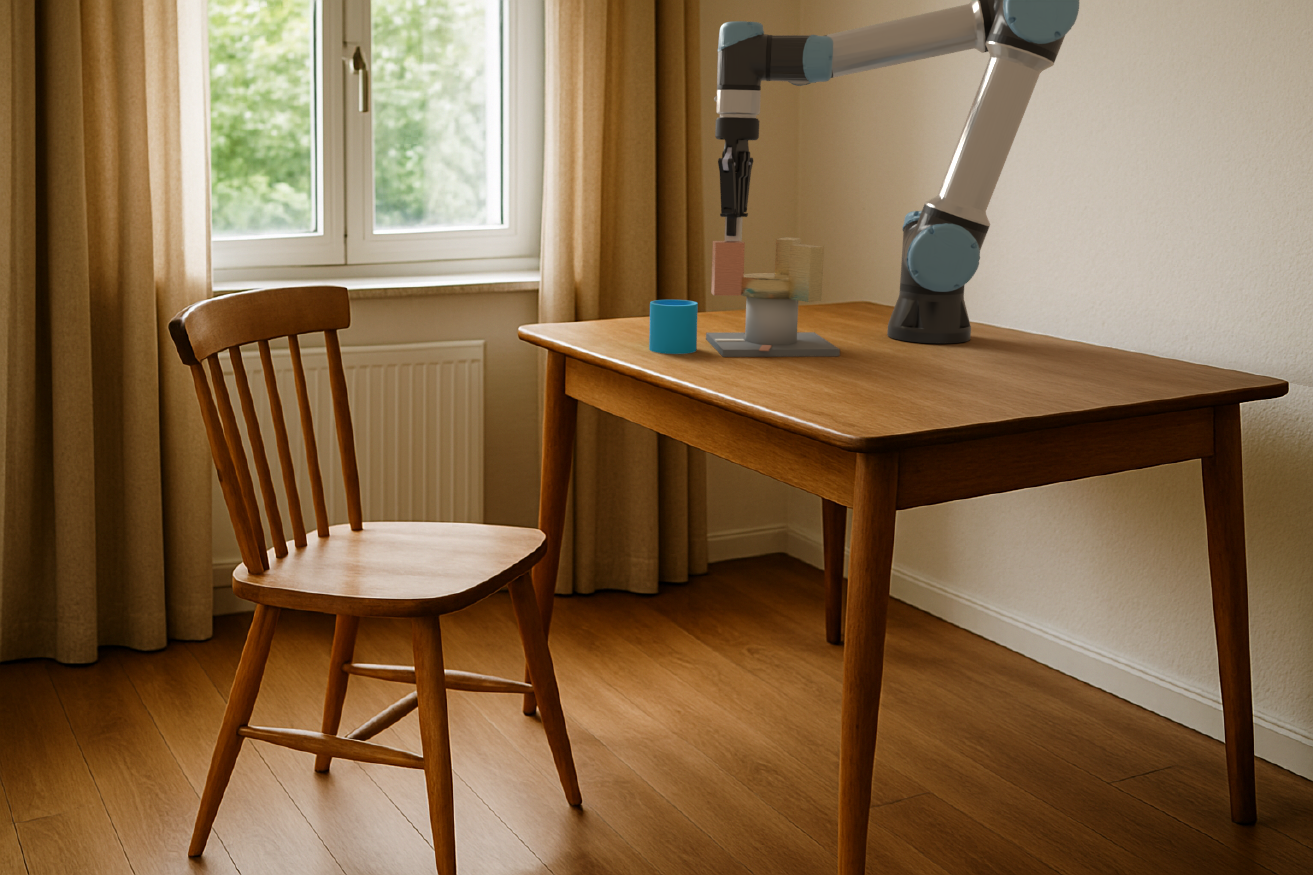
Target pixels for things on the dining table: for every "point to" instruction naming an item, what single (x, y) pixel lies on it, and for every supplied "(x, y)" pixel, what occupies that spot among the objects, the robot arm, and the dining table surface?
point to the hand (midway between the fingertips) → (732, 254)
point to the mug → (673, 326)
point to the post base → (777, 350)
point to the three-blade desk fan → (791, 279)
